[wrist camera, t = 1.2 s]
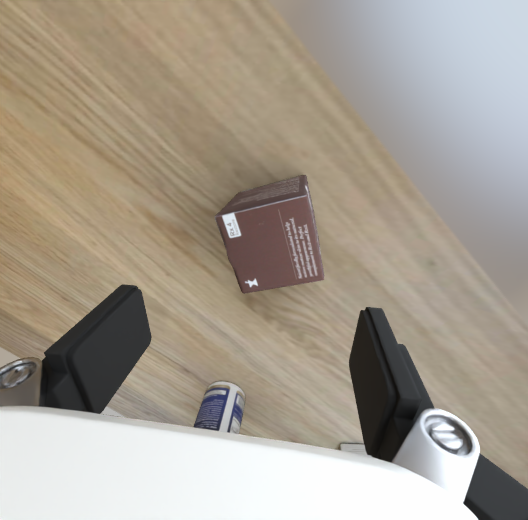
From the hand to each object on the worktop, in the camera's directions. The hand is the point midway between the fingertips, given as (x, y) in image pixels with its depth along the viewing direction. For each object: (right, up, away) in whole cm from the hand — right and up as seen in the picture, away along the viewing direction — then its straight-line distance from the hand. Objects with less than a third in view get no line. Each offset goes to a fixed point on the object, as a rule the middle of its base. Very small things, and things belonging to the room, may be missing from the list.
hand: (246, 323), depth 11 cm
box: (+2, +7, +12) cm, 14 cm away
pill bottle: (-4, -15, +24) cm, 29 cm away
